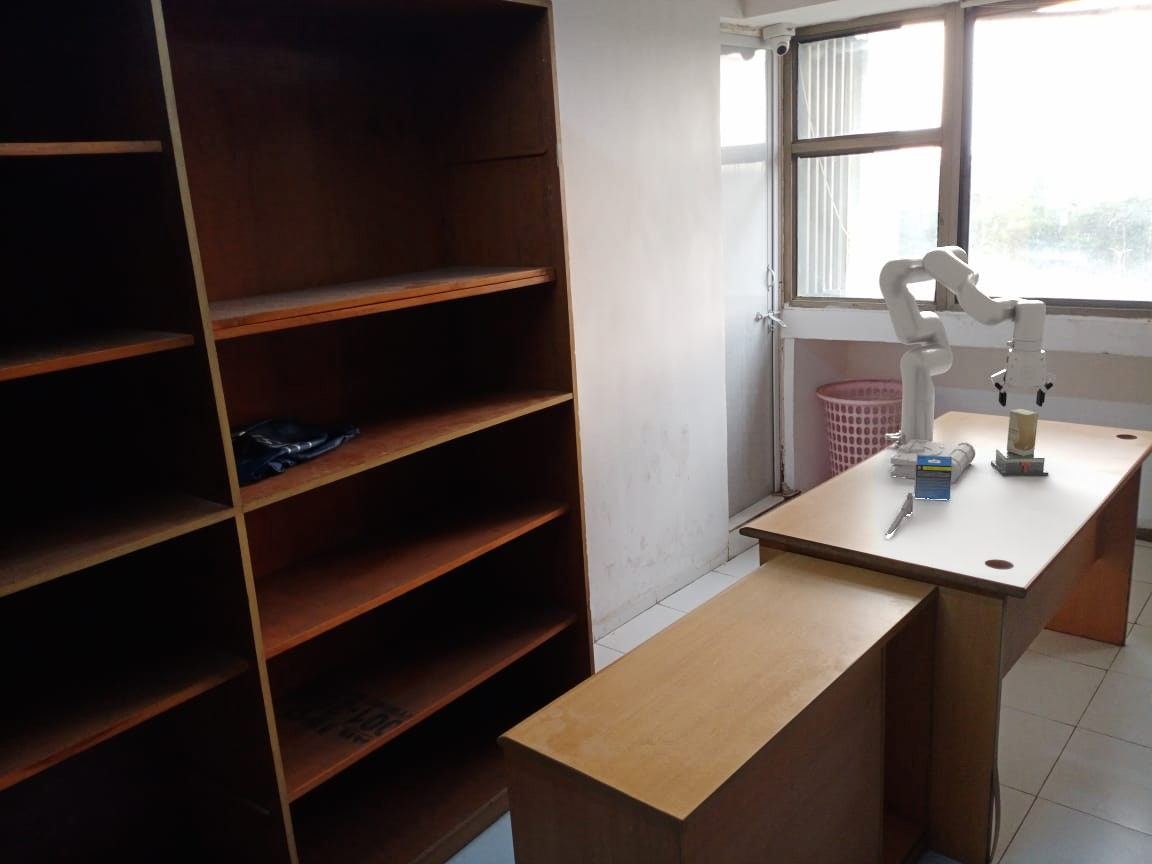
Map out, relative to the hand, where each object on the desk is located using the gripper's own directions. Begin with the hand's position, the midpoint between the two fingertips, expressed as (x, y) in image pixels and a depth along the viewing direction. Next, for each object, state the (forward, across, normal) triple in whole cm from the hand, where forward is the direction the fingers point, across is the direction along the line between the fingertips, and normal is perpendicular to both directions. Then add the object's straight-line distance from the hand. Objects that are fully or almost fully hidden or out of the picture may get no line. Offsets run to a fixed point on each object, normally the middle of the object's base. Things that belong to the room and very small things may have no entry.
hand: (1020, 405), depth 261 cm
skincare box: (+14, +1, -1) cm, 14 cm away
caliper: (+19, -40, -47) cm, 65 cm away
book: (+20, -22, +2) cm, 30 cm away
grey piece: (+19, +1, -1) cm, 19 cm away
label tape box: (+19, -28, -26) cm, 43 cm away
